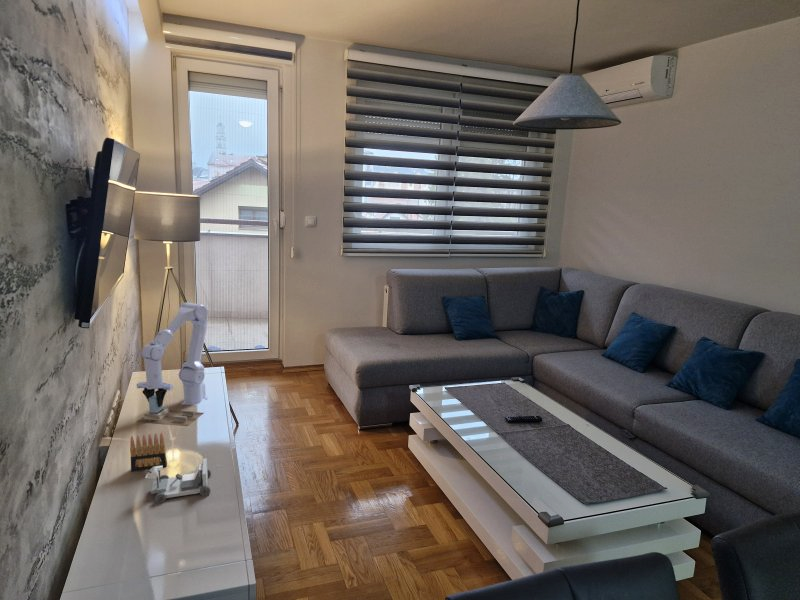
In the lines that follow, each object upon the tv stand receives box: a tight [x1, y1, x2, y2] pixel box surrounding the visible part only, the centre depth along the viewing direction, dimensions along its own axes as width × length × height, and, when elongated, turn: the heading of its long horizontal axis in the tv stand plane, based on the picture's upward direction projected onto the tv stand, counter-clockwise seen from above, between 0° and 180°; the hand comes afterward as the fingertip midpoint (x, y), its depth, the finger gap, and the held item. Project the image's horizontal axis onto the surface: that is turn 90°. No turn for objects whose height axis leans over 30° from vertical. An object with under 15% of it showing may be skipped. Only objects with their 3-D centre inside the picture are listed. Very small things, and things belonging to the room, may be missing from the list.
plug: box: [148, 394, 163, 413], centre depth 208 cm, size 4×3×6 cm
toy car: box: [144, 457, 212, 504], centre depth 158 cm, size 18×10×12 cm
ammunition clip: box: [129, 432, 168, 472], centre depth 170 cm, size 11×2×12 cm, turn 108°
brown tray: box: [135, 407, 205, 427], centre depth 209 cm, size 13×22×3 cm, turn 83°
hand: (156, 405), depth 209 cm, fingers closed on plug, 3 cm apart
